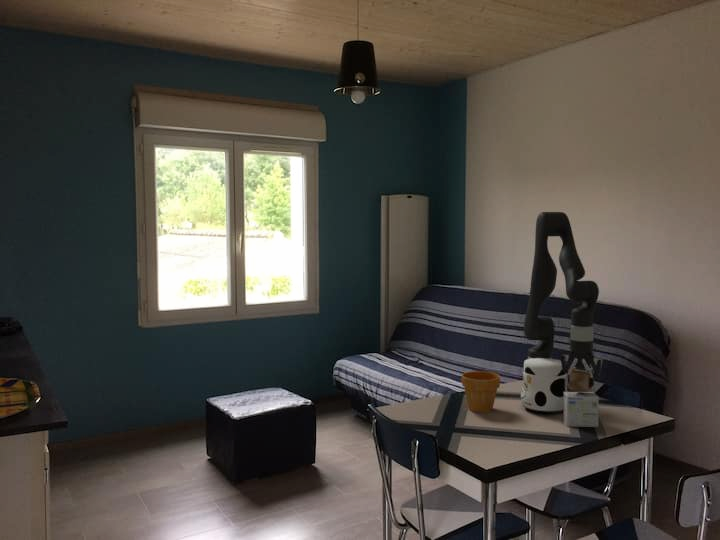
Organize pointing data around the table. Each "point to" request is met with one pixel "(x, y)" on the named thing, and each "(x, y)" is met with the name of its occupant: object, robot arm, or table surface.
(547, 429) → the table surface
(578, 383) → the walnut block
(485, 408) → the flower pot
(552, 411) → the milk container
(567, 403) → the light bulb box
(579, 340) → the robot arm
